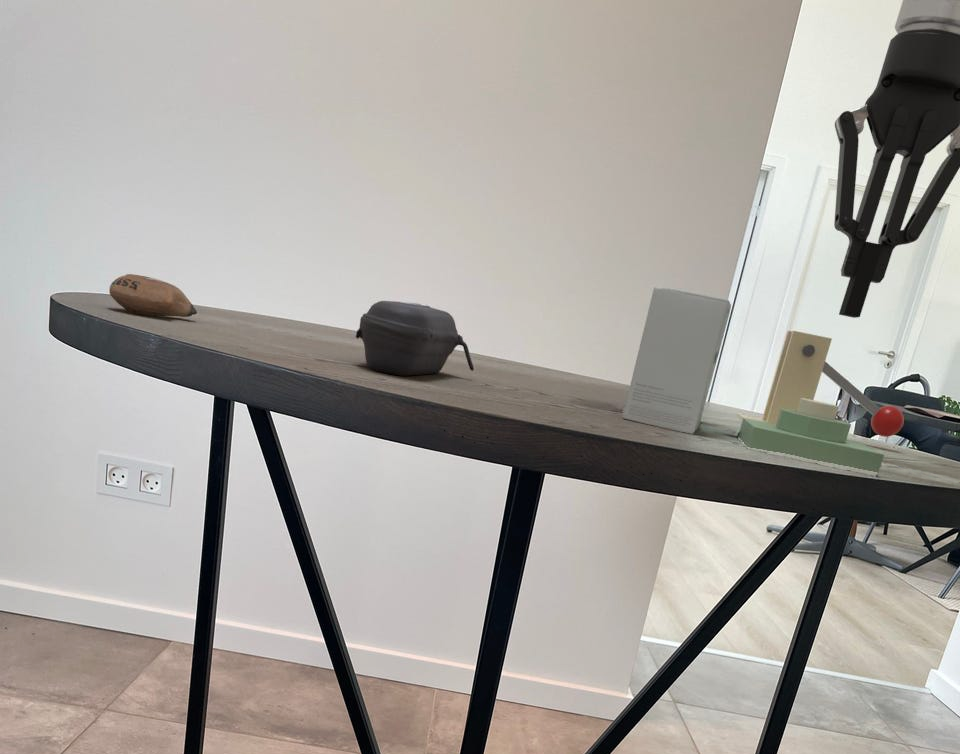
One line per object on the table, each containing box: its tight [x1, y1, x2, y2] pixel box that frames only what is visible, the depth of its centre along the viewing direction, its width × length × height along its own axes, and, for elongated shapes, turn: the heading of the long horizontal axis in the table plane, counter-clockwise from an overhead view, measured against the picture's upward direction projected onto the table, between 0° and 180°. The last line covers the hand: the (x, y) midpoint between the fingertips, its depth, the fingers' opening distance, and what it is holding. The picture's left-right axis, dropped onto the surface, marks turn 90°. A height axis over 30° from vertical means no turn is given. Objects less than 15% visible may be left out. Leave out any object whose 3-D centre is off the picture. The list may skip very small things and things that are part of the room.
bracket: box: [737, 330, 833, 424], centre depth 114 cm, size 10×8×12 cm
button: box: [797, 398, 840, 421], centre depth 92 cm, size 4×4×2 cm
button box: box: [737, 409, 885, 473], centre depth 93 cm, size 12×10×4 cm
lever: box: [822, 361, 905, 438], centre depth 113 cm, size 16×4×4 cm, turn 80°
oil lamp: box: [108, 273, 198, 318], centre depth 102 cm, size 9×4×8 cm
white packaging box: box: [622, 286, 732, 435], centre depth 95 cm, size 7×7×13 cm
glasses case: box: [355, 300, 475, 377], centre depth 97 cm, size 18×10×8 cm, turn 168°
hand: (849, 315), depth 92 cm, fingers closed
